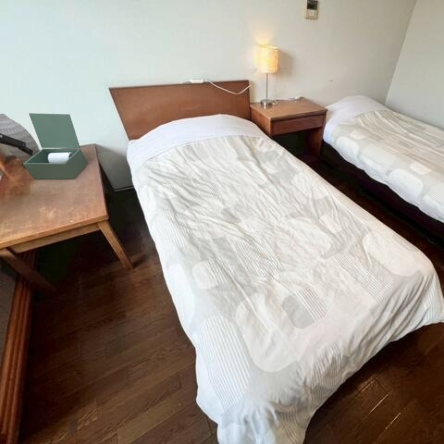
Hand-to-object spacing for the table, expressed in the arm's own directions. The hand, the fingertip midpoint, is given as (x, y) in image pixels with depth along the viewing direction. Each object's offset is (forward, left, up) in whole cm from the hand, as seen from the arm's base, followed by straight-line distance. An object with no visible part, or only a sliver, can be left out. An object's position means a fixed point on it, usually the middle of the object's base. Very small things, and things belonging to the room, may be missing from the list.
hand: (15, 153), depth 119 cm
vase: (-17, +26, -20) cm, 37 cm away
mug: (+4, +19, -19) cm, 27 cm away
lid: (+3, +28, -1) cm, 28 cm away
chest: (+3, +16, -20) cm, 26 cm away
